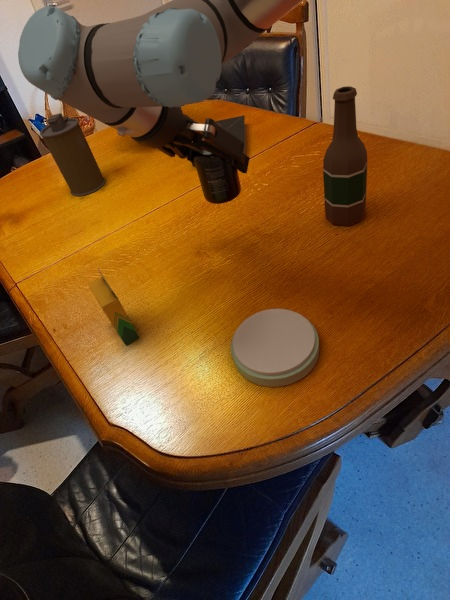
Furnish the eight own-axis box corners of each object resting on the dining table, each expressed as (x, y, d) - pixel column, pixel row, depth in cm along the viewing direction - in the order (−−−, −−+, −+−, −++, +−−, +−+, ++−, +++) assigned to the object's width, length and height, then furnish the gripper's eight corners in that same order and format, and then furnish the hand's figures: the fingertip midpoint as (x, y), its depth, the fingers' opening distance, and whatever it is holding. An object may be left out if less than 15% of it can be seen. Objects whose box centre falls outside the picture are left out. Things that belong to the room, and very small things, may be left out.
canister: (101, 192, 112) (67, 119, 98) (66, 199, 113) (28, 128, 100) (109, 173, 120) (78, 103, 106) (76, 180, 121) (42, 112, 107)
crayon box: (111, 323, 73) (82, 275, 65) (125, 314, 74) (98, 266, 66) (125, 347, 68) (95, 298, 60) (140, 338, 69) (113, 289, 61)
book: (199, 134, 126) (196, 124, 124) (246, 125, 124) (244, 115, 122) (192, 167, 111) (189, 157, 109) (245, 157, 108) (244, 146, 106)
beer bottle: (317, 219, 82) (309, 96, 66) (341, 201, 85) (339, 78, 68) (349, 232, 77) (350, 101, 61) (373, 211, 80) (380, 82, 63)
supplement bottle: (249, 187, 73) (236, 120, 65) (228, 207, 69) (211, 139, 61) (218, 182, 76) (203, 118, 68) (197, 202, 73) (178, 137, 65)
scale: (325, 322, 63) (325, 310, 61) (311, 394, 55) (309, 382, 53) (246, 314, 68) (243, 302, 66) (222, 379, 59) (217, 368, 57)
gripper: (84, 138, 57) (179, 181, 77) (200, 140, 48) (274, 189, 68) (93, 83, 56) (186, 142, 76) (211, 75, 47) (283, 144, 67)
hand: (227, 164), depth 72 cm, fingers closed on supplement bottle, 7 cm apart
